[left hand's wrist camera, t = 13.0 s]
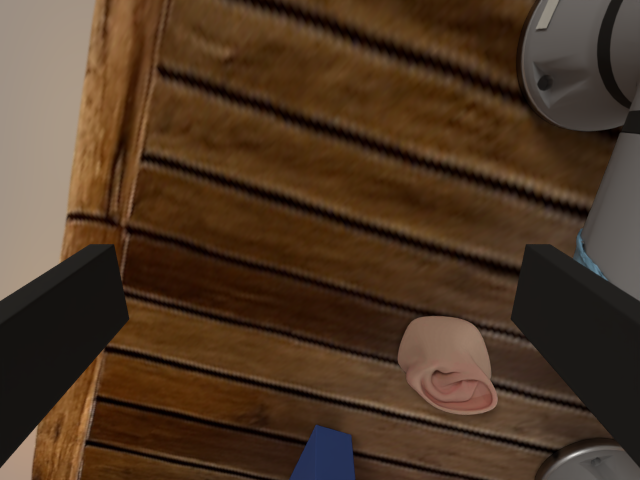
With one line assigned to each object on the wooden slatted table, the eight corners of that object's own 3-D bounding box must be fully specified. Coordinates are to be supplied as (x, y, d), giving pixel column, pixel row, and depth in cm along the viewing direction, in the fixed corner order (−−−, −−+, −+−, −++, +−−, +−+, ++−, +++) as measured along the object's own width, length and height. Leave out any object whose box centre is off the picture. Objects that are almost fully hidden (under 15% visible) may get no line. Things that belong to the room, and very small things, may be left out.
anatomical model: (397, 341, 42) (501, 323, 42) (391, 321, 46) (486, 304, 45) (412, 429, 47) (505, 414, 46) (405, 405, 51) (491, 390, 50)
